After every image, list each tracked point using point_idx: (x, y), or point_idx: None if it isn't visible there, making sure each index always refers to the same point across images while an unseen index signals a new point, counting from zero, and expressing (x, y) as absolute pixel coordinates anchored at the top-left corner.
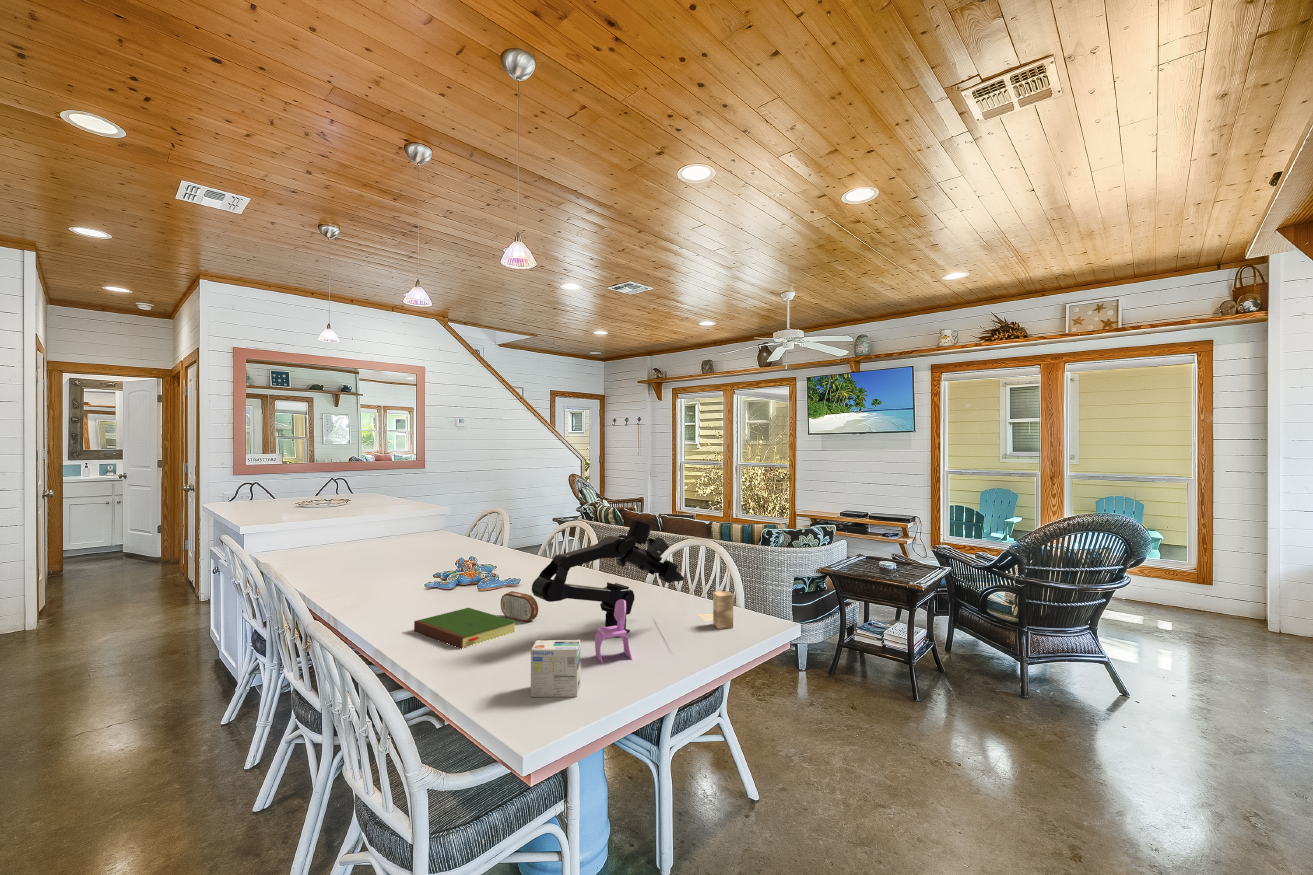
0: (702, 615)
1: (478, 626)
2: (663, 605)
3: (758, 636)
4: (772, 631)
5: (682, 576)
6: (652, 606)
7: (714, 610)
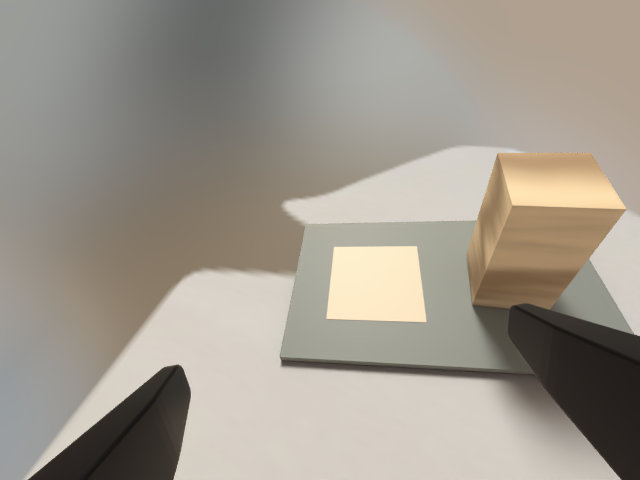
0: (348, 304)
1: None
2: (111, 403)
3: None
4: None
5: (571, 321)
6: None
7: (510, 270)
